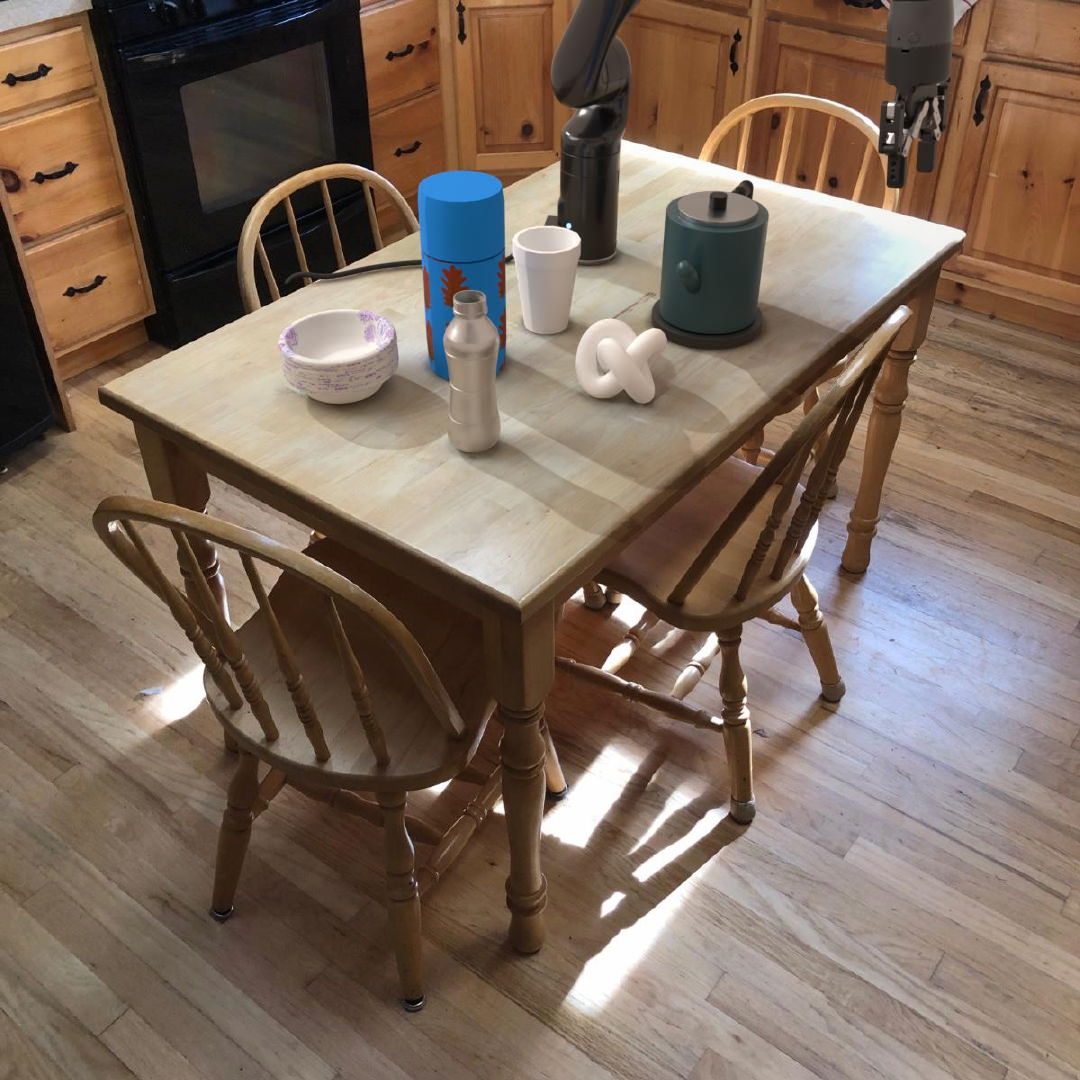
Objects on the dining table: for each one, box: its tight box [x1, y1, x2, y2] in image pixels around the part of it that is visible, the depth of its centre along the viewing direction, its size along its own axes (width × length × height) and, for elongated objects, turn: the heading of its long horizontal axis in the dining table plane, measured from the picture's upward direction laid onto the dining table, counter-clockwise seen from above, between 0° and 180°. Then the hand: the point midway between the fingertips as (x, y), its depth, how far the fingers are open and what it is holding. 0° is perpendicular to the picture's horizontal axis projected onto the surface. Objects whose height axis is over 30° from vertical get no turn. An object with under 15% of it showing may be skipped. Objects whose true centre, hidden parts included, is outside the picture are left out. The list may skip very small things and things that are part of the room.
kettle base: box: [650, 298, 764, 350], centre depth 172 cm, size 16×16×2 cm
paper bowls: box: [277, 308, 400, 405], centre depth 155 cm, size 15×15×8 cm
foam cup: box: [511, 225, 581, 335], centre depth 168 cm, size 10×9×13 cm
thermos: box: [417, 170, 507, 381], centre depth 155 cm, size 11×11×25 cm
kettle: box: [659, 179, 770, 334], centre depth 166 cm, size 24×14×17 cm, turn 151°
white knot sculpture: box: [575, 318, 668, 404], centre depth 153 cm, size 11×12×9 cm
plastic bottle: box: [443, 290, 502, 453], centre depth 140 cm, size 6×7×20 cm
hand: (910, 179), depth 147 cm, fingers open, 8 cm apart
